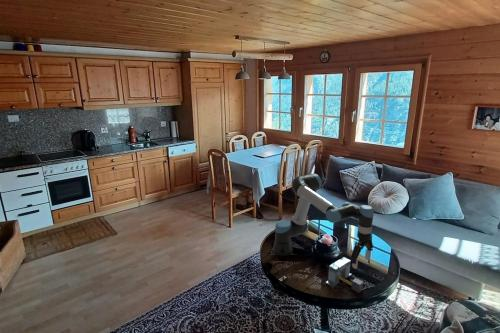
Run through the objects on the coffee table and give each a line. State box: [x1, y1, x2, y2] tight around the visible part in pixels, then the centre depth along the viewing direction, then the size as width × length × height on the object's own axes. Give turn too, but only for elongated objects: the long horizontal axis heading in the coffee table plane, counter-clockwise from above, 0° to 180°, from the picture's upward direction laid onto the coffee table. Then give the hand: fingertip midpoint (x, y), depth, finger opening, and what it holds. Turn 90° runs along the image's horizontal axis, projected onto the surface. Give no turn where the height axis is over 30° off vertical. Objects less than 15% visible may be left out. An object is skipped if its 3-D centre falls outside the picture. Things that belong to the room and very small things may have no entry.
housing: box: [325, 256, 352, 288], centre depth 187 cm, size 6×20×12 cm, turn 128°
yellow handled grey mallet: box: [339, 276, 364, 294], centre depth 183 cm, size 19×4×6 cm, turn 38°
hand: (361, 263), depth 173 cm, fingers open, 13 cm apart
